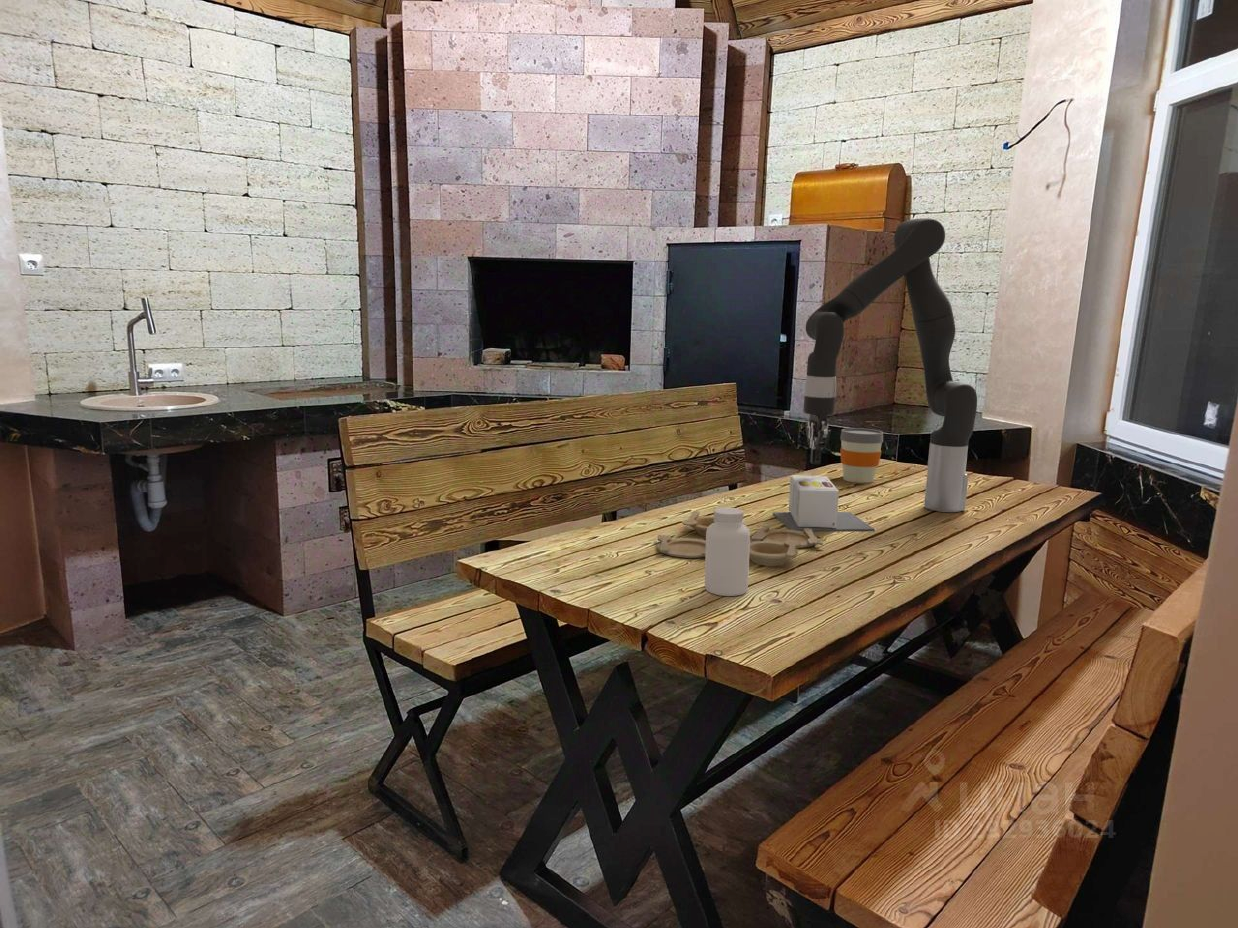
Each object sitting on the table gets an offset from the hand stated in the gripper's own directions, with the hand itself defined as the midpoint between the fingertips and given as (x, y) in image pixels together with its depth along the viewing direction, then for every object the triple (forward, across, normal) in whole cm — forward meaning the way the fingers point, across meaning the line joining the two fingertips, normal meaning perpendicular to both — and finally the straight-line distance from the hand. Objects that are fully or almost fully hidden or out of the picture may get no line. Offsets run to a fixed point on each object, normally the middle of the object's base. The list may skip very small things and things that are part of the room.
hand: (815, 463), depth 204 cm
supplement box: (+8, +2, +1) cm, 8 cm away
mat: (+13, -8, 0) cm, 15 cm away
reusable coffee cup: (+13, +42, -28) cm, 52 cm away
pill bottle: (+13, -55, +34) cm, 66 cm away
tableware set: (+14, -27, +25) cm, 39 cm away
